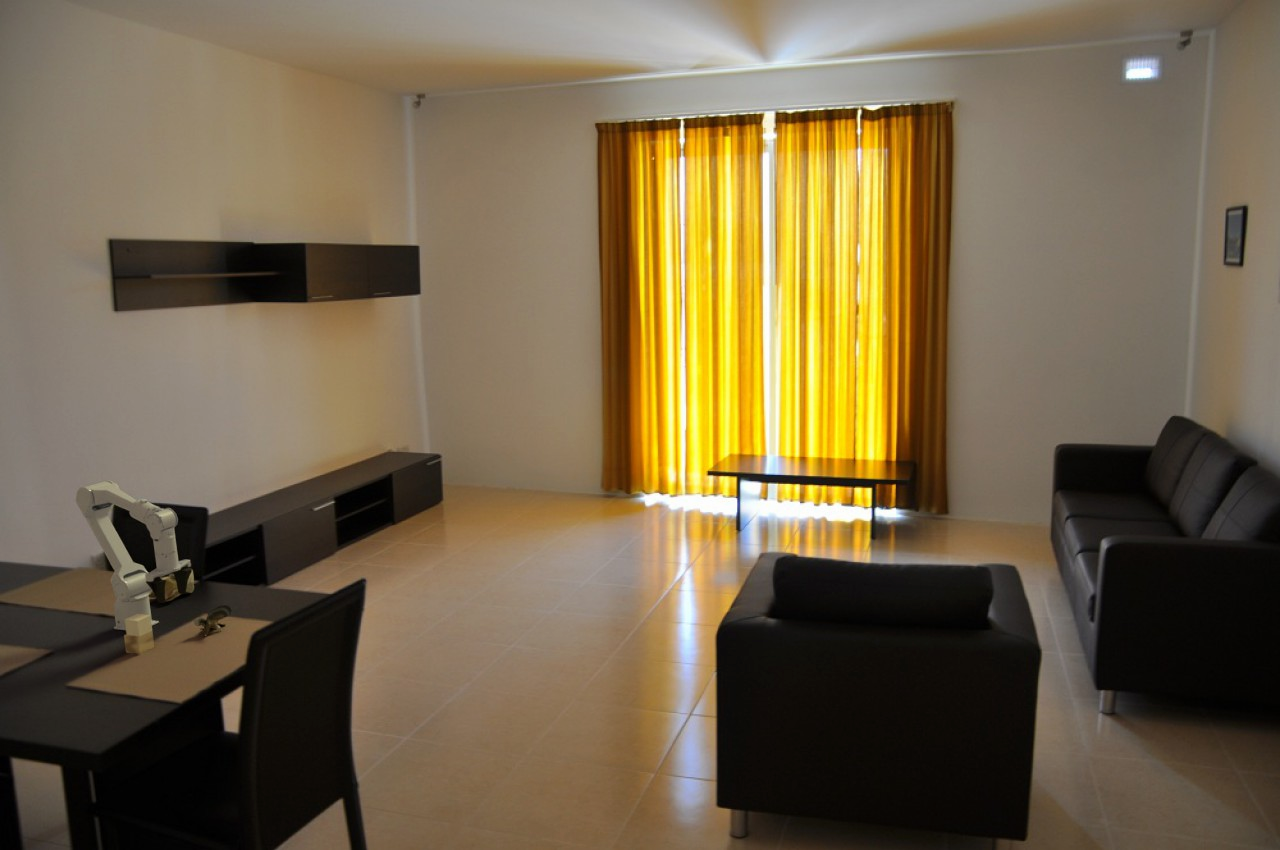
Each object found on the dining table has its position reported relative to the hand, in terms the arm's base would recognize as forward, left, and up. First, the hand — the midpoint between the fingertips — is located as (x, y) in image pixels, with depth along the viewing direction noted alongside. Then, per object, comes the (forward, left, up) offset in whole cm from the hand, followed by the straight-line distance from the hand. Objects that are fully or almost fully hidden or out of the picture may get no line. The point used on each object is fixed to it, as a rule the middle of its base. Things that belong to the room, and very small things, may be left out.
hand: (172, 598), depth 298 cm
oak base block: (0, -13, -11) cm, 17 cm away
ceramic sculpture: (-24, +24, -11) cm, 36 cm away
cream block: (+1, -13, -6) cm, 14 cm away
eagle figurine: (+10, +4, -11) cm, 15 cm away
